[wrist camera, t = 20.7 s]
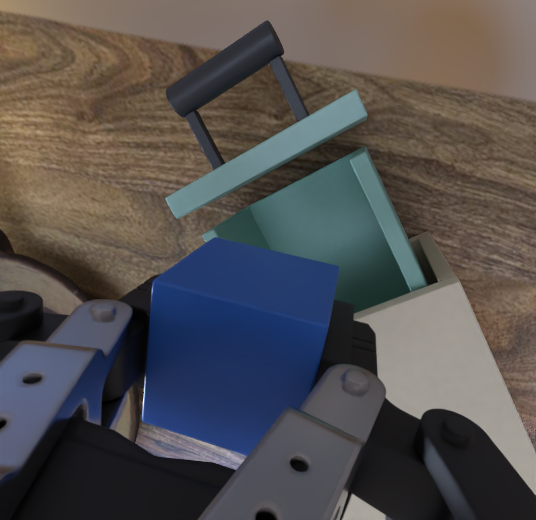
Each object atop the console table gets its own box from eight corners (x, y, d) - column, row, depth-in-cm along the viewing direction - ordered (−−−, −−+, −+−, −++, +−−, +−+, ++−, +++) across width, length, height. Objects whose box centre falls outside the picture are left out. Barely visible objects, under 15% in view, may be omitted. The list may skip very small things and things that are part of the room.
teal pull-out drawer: (181, 115, 27) (114, 109, 20) (323, 23, 23) (304, -25, 16) (311, 356, 30) (294, 428, 23) (452, 307, 27) (485, 373, 19)
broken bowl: (-51, 413, 43) (-134, 470, 36) (-51, 128, 32) (-170, 128, 25) (138, 499, 40) (89, 579, 33) (206, 220, 30) (155, 249, 23)
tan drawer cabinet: (274, 294, 30) (236, 363, 21) (427, 230, 26) (459, 281, 17) (362, 459, 33) (361, 581, 24) (514, 422, 29) (580, 552, 20)
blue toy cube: (340, 265, 12) (328, 325, 8) (313, 377, 13) (292, 471, 10) (214, 235, 13) (151, 279, 9) (200, 345, 14) (140, 422, 10)
